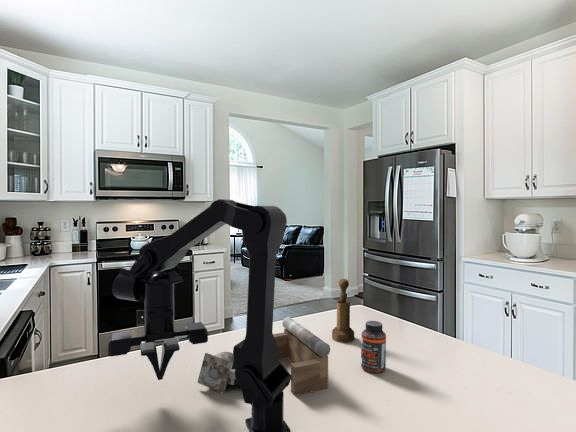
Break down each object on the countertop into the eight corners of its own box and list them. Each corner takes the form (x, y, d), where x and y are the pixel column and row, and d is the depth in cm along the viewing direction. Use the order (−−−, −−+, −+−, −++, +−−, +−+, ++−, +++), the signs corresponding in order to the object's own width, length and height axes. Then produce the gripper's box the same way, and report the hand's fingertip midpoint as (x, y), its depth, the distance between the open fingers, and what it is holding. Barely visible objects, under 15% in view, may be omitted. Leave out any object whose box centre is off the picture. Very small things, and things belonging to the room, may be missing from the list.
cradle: (330, 387, 78) (330, 342, 78) (294, 395, 75) (294, 348, 74) (292, 353, 96) (292, 316, 96) (262, 358, 93) (262, 320, 93)
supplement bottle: (357, 370, 86) (358, 324, 86) (364, 361, 92) (365, 317, 91) (382, 376, 84) (383, 328, 83) (388, 366, 89) (388, 321, 89)
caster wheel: (259, 387, 83) (242, 403, 74) (217, 370, 87) (195, 383, 77) (266, 358, 84) (250, 371, 74) (224, 343, 87) (203, 352, 78)
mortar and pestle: (330, 341, 105) (330, 280, 105) (333, 333, 112) (334, 276, 111) (352, 343, 103) (353, 281, 103) (355, 335, 110) (356, 277, 109)
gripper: (199, 291, 84) (199, 356, 85) (110, 298, 77) (111, 370, 77) (208, 302, 74) (208, 377, 74) (107, 313, 67) (108, 395, 67)
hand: (160, 379), depth 73 cm, fingers closed
